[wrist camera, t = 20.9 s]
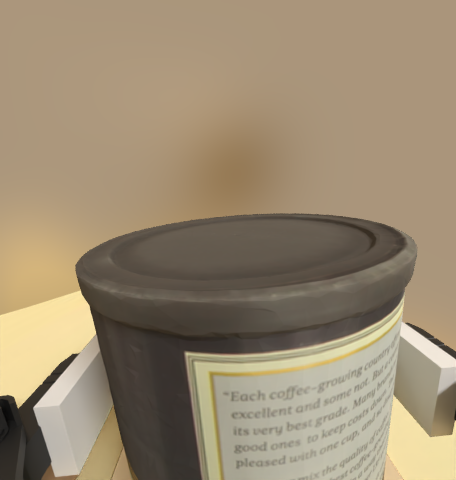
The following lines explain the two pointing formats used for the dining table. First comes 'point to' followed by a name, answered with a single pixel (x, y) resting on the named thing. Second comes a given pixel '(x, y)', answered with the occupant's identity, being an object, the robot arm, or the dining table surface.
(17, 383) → the dining table surface
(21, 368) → the dining table surface
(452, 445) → the dining table surface
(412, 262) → the coffee can
